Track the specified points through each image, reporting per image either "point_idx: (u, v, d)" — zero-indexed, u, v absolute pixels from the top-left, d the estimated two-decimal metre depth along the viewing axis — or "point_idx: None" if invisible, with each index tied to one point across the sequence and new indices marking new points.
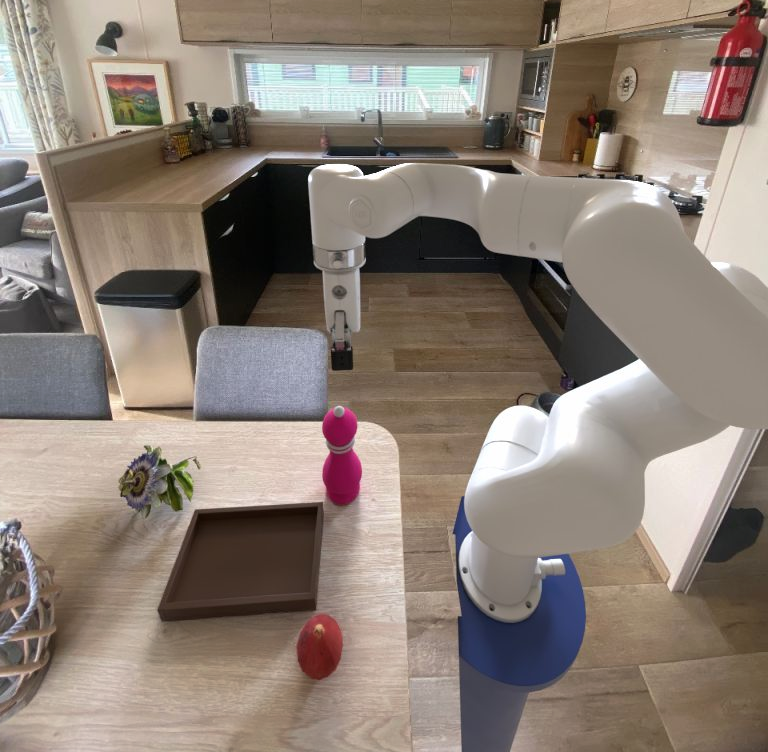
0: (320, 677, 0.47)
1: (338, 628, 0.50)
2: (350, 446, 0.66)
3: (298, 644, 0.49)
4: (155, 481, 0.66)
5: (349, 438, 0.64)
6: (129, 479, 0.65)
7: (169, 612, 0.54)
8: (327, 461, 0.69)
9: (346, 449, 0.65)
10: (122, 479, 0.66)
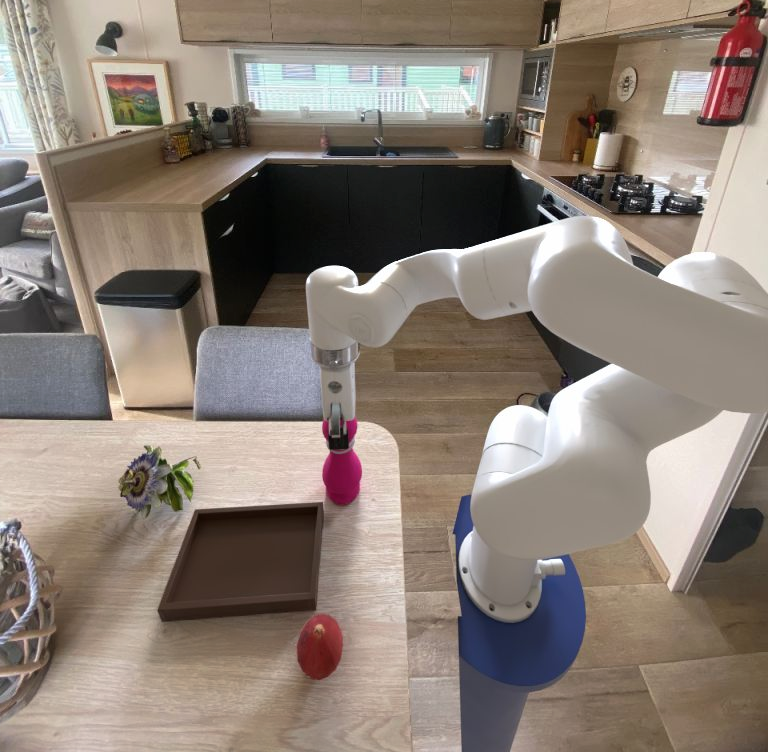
0: (320, 677, 0.47)
1: (338, 628, 0.50)
2: (350, 446, 0.66)
3: (298, 644, 0.49)
4: (155, 481, 0.66)
5: (349, 438, 0.64)
6: (129, 479, 0.65)
7: (169, 612, 0.54)
8: (327, 461, 0.69)
9: (346, 449, 0.65)
10: (122, 479, 0.66)
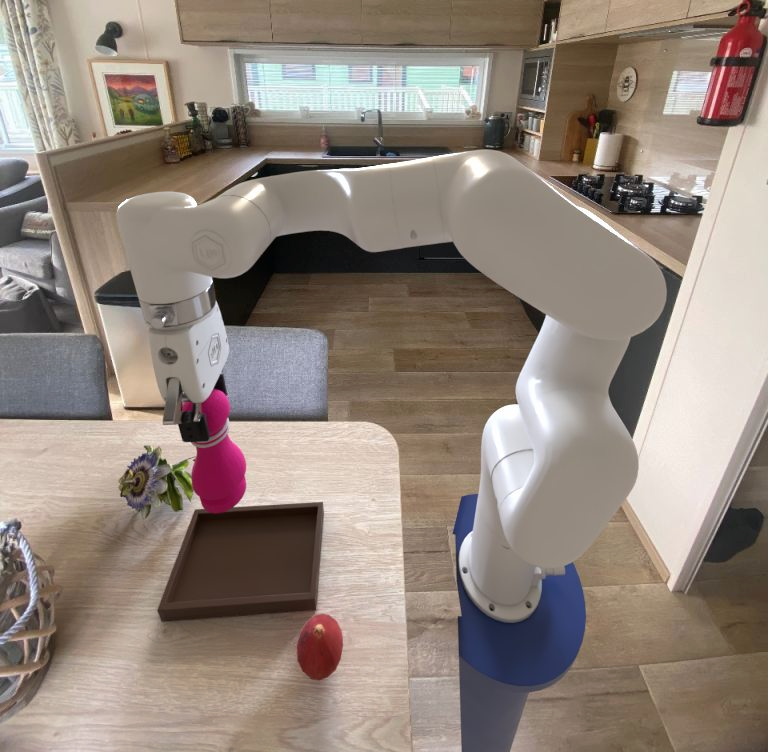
0: (320, 677, 0.47)
1: (338, 628, 0.50)
2: (218, 438, 0.51)
3: (298, 644, 0.49)
4: (155, 481, 0.66)
5: (212, 427, 0.49)
6: (129, 479, 0.65)
7: (169, 612, 0.54)
8: None
9: (212, 442, 0.50)
10: (122, 479, 0.66)
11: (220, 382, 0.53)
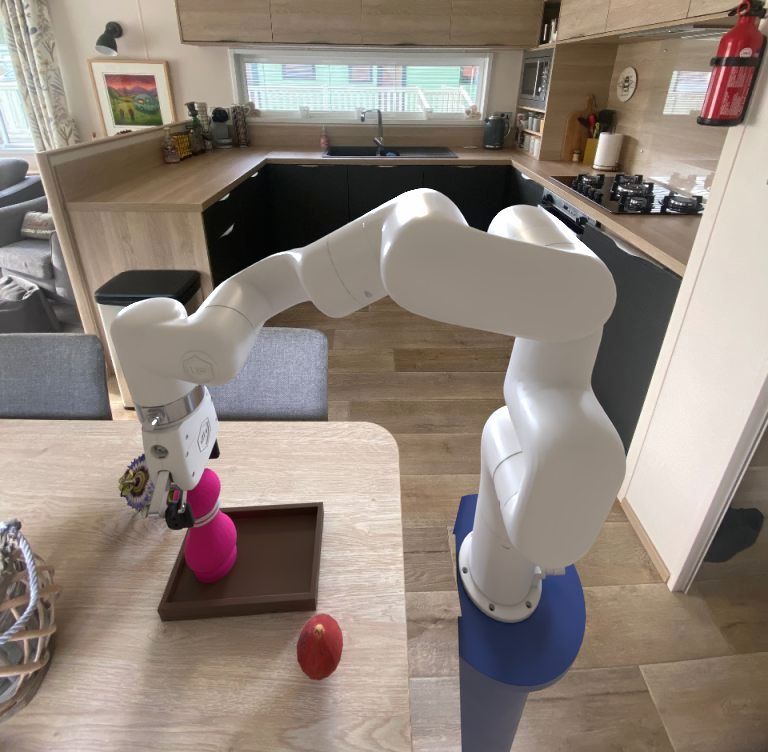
0: (320, 677, 0.47)
1: (338, 628, 0.50)
2: (209, 517, 0.54)
3: (298, 644, 0.49)
4: None
5: (203, 510, 0.52)
6: (129, 479, 0.65)
7: (169, 612, 0.54)
8: None
9: (203, 521, 0.54)
10: (122, 479, 0.66)
11: None
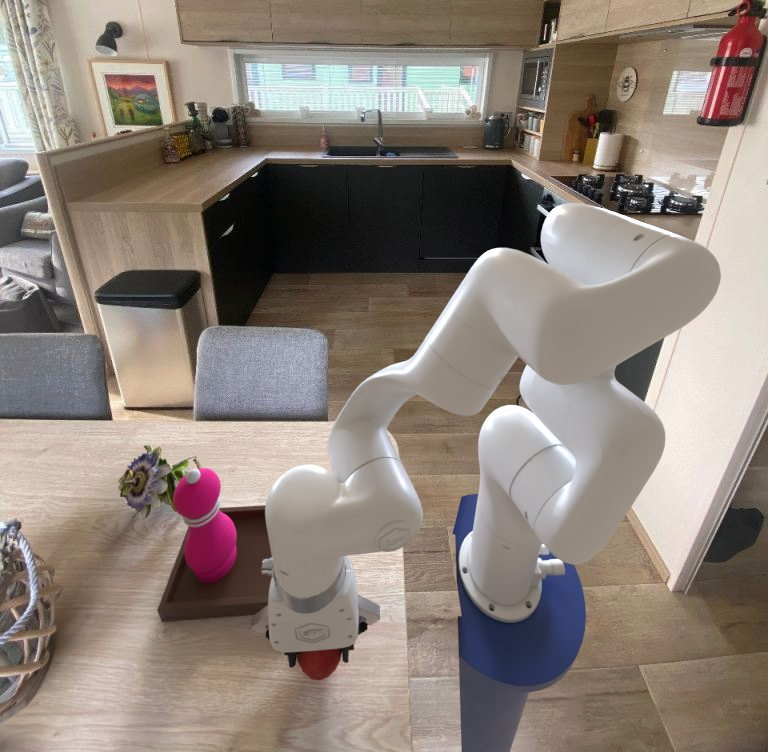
0: (320, 677, 0.47)
1: None
2: (209, 517, 0.54)
3: None
4: (155, 481, 0.66)
5: (203, 510, 0.52)
6: (129, 479, 0.65)
7: (169, 612, 0.54)
8: None
9: (203, 521, 0.54)
10: (122, 479, 0.66)
11: None
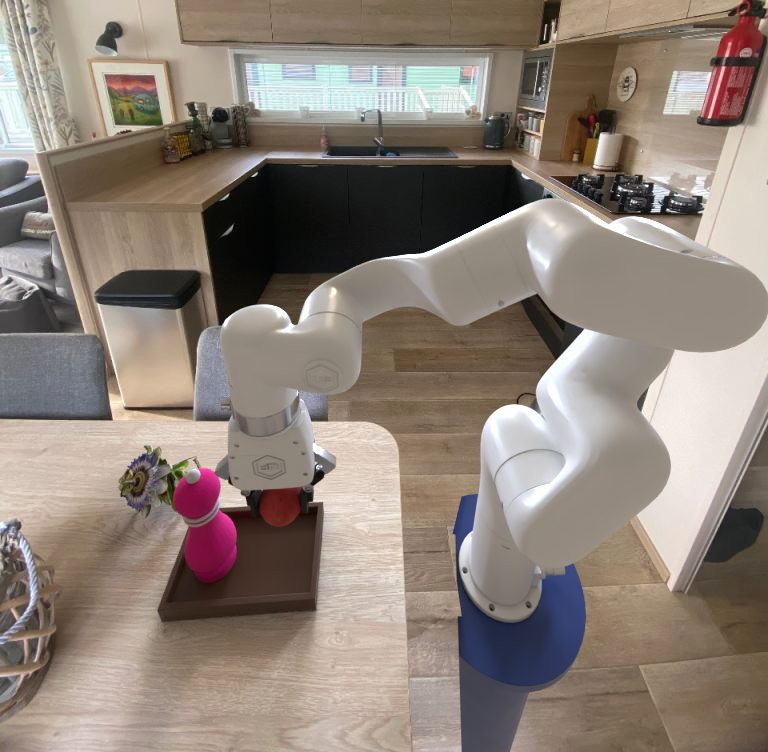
0: (280, 522, 0.50)
1: None
2: (209, 517, 0.54)
3: (260, 496, 0.52)
4: (155, 481, 0.66)
5: (203, 510, 0.52)
6: (129, 479, 0.65)
7: (169, 612, 0.54)
8: None
9: (203, 521, 0.54)
10: (122, 479, 0.66)
11: None
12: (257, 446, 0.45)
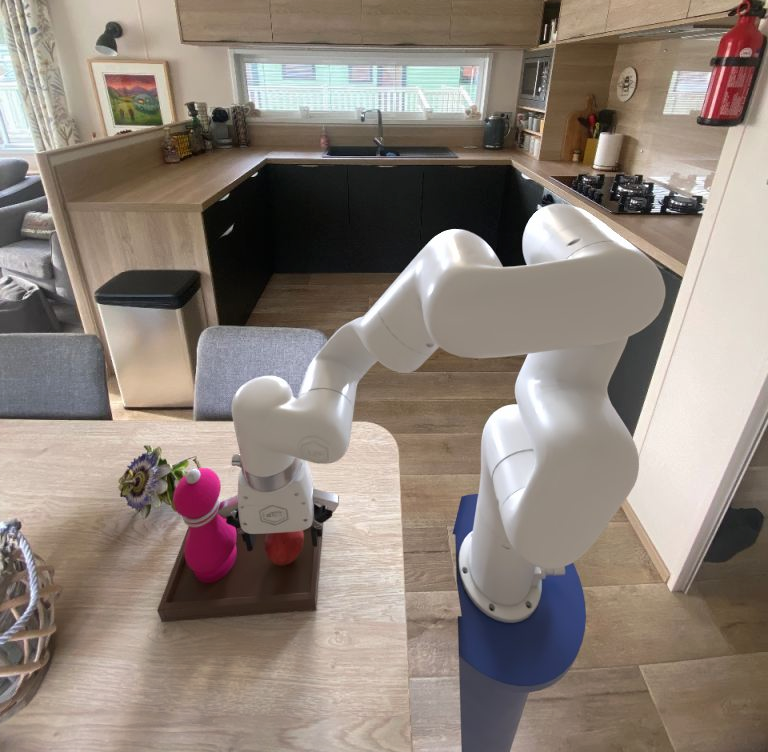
0: (283, 562, 0.57)
1: None
2: (209, 517, 0.54)
3: (266, 538, 0.59)
4: (155, 481, 0.66)
5: (203, 510, 0.52)
6: (129, 479, 0.65)
7: (169, 612, 0.54)
8: None
9: (203, 521, 0.54)
10: (122, 479, 0.66)
11: (311, 532, 0.57)
12: (263, 498, 0.52)
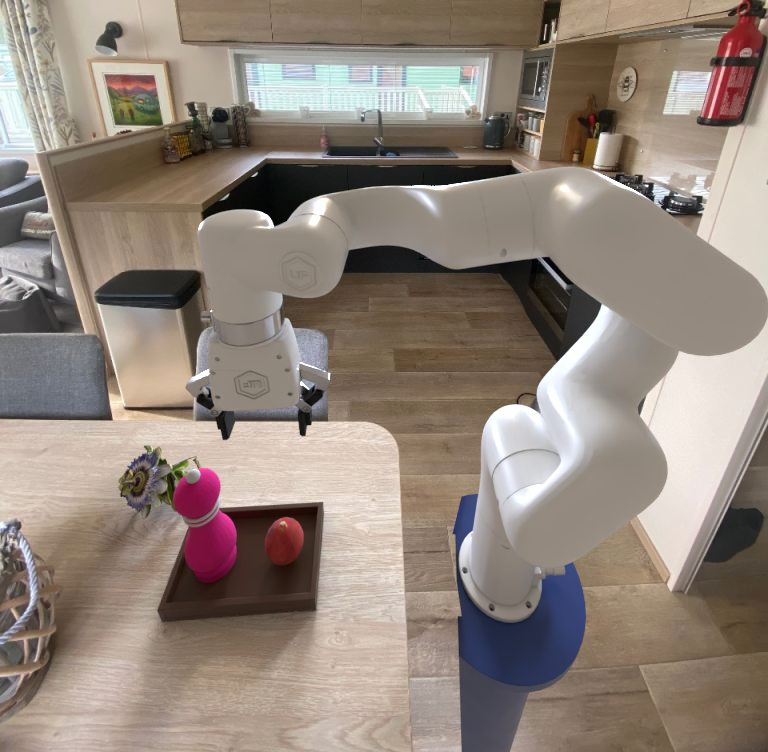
0: (283, 562, 0.57)
1: (300, 527, 0.60)
2: (209, 517, 0.54)
3: (266, 538, 0.59)
4: (155, 481, 0.66)
5: (203, 510, 0.52)
6: (129, 479, 0.65)
7: (169, 612, 0.54)
8: None
9: (203, 521, 0.54)
10: (122, 479, 0.66)
11: (298, 417, 0.49)
12: (239, 360, 0.43)
